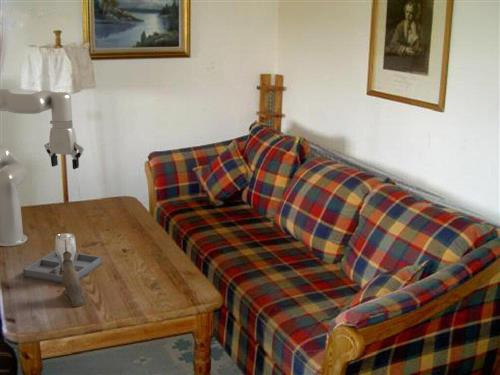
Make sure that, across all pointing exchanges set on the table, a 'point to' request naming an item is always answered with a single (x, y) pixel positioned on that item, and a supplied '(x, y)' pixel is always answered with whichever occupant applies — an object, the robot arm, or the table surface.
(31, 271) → the gray compartment tray
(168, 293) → the table surface
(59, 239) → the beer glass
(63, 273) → the brown carved statuette
